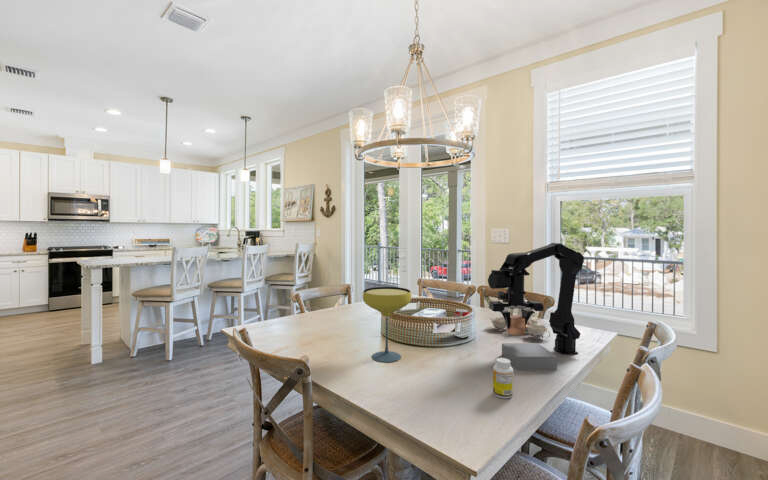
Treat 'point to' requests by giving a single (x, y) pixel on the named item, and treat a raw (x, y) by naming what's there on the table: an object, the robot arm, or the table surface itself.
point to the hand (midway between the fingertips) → (515, 328)
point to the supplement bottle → (503, 378)
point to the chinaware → (529, 327)
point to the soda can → (460, 312)
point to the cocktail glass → (386, 311)
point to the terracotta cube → (516, 325)
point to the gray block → (529, 356)
